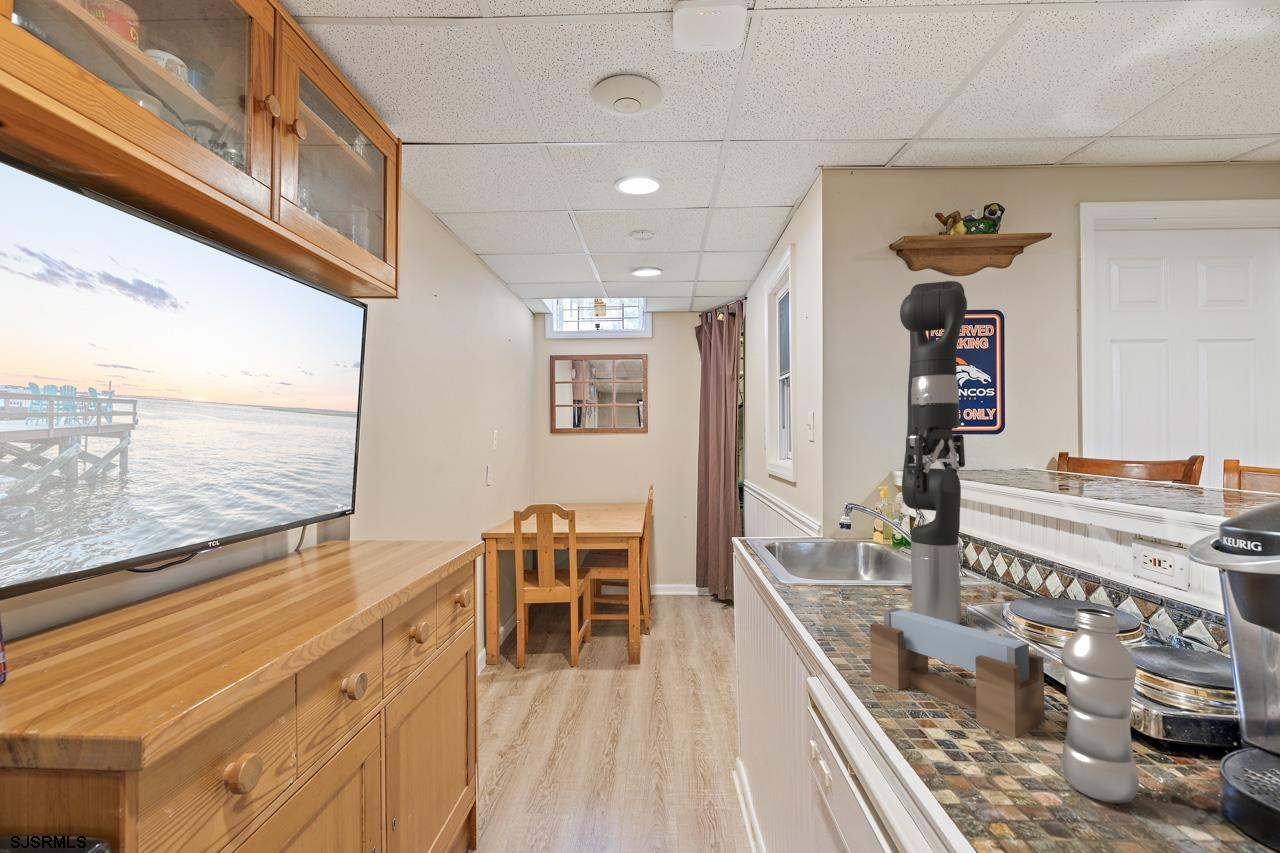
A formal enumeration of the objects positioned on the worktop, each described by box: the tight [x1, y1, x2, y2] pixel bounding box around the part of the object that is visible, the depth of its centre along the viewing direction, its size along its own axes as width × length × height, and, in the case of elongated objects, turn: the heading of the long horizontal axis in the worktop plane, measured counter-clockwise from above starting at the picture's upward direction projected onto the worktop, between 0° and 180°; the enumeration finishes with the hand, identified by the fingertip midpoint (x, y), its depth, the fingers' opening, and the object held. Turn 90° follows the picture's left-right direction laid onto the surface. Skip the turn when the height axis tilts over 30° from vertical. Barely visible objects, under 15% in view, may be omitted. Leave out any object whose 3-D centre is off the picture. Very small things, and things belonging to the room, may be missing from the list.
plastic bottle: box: [1060, 607, 1140, 805], centre depth 64 cm, size 6×7×20 cm
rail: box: [883, 607, 1030, 683], centre depth 87 cm, size 4×20×5 cm, turn 31°
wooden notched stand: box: [869, 622, 1046, 739], centre depth 87 cm, size 8×22×9 cm, turn 31°
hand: (936, 493), depth 101 cm, fingers open, 8 cm apart
